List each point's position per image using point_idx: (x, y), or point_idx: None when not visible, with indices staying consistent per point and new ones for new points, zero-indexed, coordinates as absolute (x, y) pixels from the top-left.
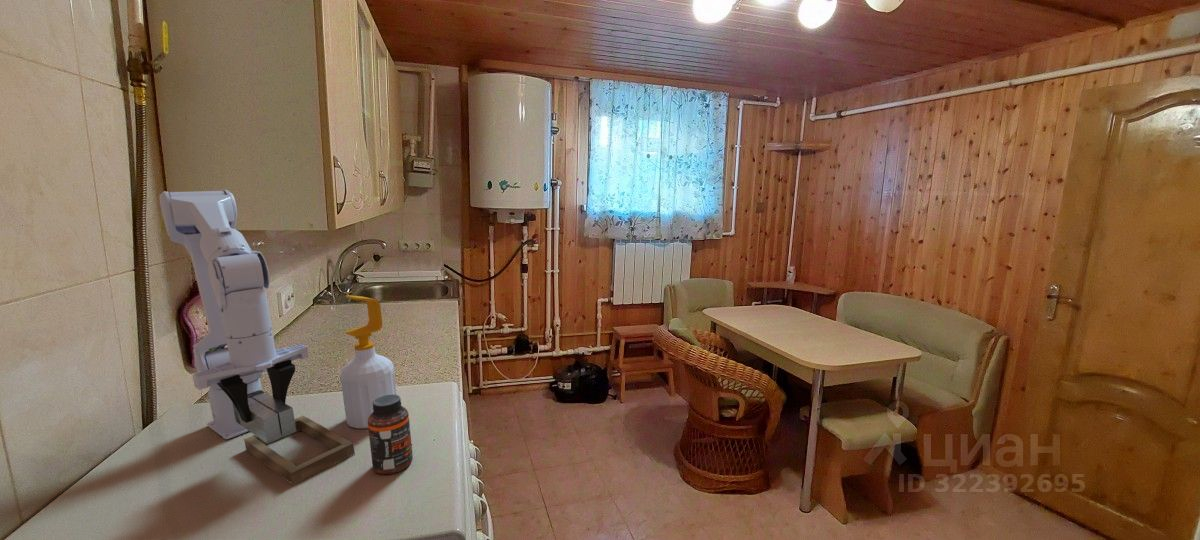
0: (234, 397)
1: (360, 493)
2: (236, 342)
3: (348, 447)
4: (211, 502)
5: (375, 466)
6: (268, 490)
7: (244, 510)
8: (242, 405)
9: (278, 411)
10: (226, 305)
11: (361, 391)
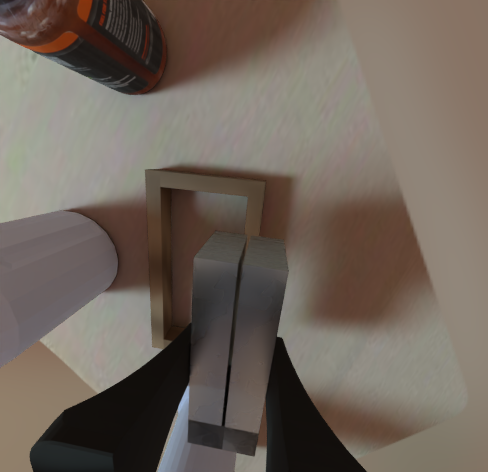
0: (330, 428)
1: (221, 19)
2: None
3: (157, 170)
4: (350, 258)
5: (160, 42)
6: (293, 205)
7: (344, 186)
8: (295, 383)
9: (232, 274)
10: None
11: (23, 259)
